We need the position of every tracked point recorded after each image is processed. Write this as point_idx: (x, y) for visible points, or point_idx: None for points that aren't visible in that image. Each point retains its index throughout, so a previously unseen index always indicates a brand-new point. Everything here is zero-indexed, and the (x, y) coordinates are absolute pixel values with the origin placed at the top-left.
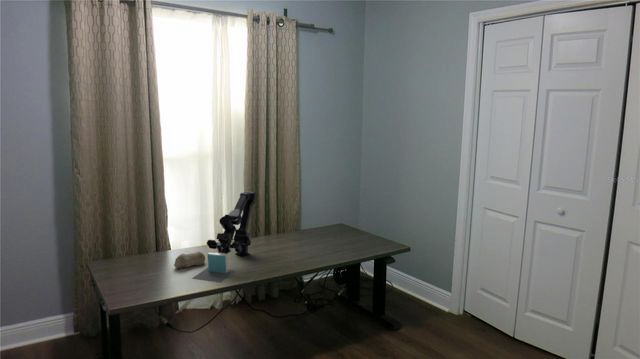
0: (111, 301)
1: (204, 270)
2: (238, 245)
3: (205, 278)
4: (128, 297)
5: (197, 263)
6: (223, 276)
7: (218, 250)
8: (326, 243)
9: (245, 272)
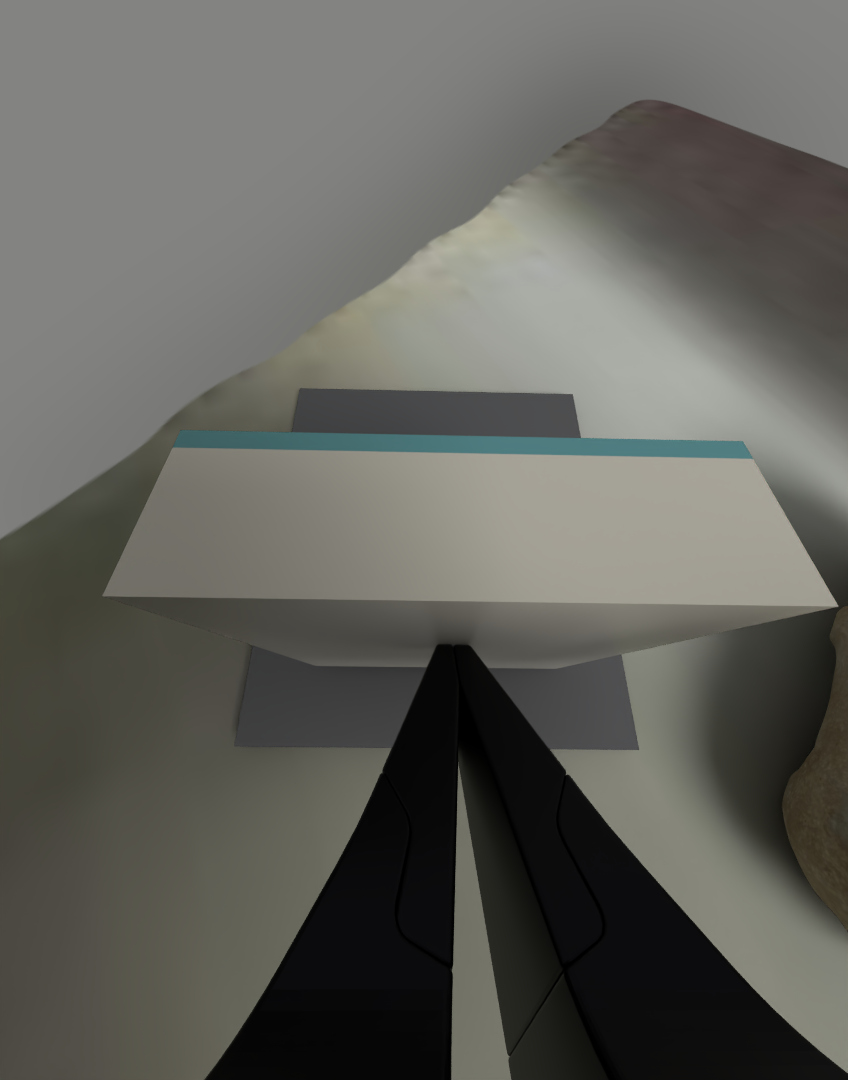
0: (717, 126)
1: None
2: None
3: (465, 425)
4: (691, 157)
5: (825, 730)
6: None
7: (662, 909)
8: None
9: (103, 754)
